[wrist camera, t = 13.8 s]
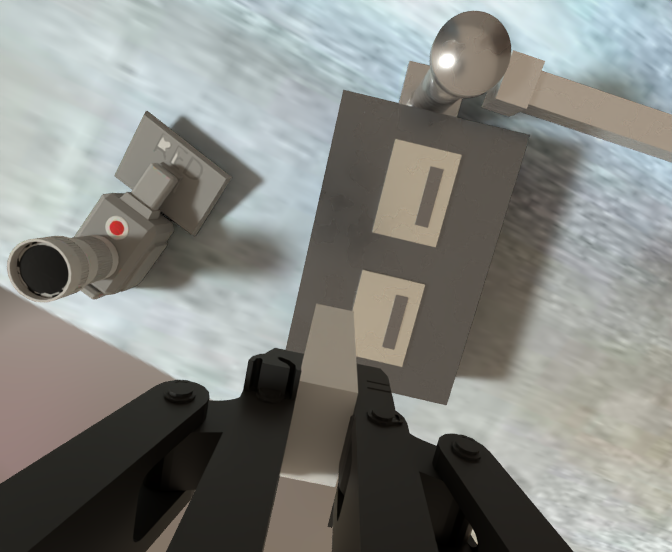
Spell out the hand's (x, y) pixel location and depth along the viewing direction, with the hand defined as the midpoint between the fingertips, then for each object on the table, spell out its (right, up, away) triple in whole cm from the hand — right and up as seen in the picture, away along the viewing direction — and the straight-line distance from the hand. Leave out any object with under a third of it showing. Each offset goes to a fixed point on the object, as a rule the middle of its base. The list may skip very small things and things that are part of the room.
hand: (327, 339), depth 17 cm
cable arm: (+21, +12, +12) cm, 27 cm away
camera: (-17, +8, +22) cm, 29 cm away
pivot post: (+8, +17, +20) cm, 28 cm away
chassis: (+5, +5, +22) cm, 23 cm away
